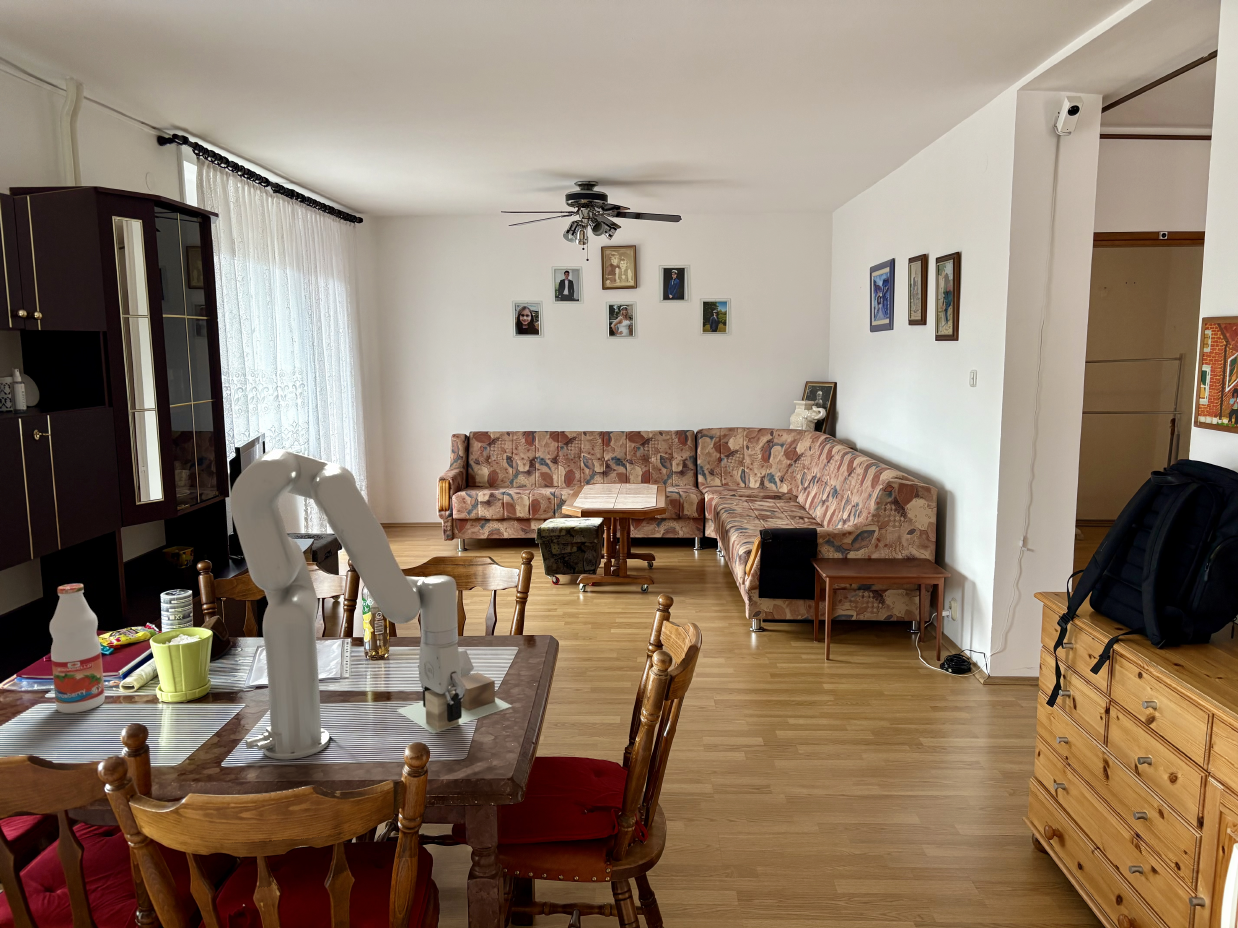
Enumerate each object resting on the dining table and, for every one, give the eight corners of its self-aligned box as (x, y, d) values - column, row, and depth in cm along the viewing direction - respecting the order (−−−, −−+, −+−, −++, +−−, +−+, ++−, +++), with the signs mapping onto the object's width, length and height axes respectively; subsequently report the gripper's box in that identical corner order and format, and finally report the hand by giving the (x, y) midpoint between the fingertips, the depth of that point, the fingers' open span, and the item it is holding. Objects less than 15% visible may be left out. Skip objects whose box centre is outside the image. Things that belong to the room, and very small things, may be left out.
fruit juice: (109, 694, 195) (99, 578, 191) (99, 710, 186) (89, 589, 183) (62, 700, 192) (52, 582, 188) (50, 716, 183) (39, 593, 179)
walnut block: (468, 710, 183) (468, 688, 182) (451, 701, 188) (451, 680, 187) (495, 701, 187) (494, 680, 187) (478, 692, 192) (477, 672, 192)
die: (480, 680, 205) (468, 643, 208) (471, 674, 197) (459, 637, 200) (449, 692, 204) (438, 656, 208) (439, 688, 196) (427, 650, 200)
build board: (433, 737, 172) (433, 733, 172) (396, 714, 183) (395, 709, 183) (512, 710, 185) (512, 705, 185) (472, 689, 197) (472, 685, 197)
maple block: (438, 730, 173) (437, 698, 172) (426, 722, 177) (425, 691, 176) (459, 723, 176) (458, 691, 175) (446, 715, 180) (445, 685, 179)
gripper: (403, 629, 178) (406, 705, 180) (445, 649, 165) (448, 731, 167) (434, 621, 183) (436, 695, 185) (477, 640, 170) (479, 720, 172)
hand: (442, 712), depth 176 cm, fingers open, 9 cm apart
